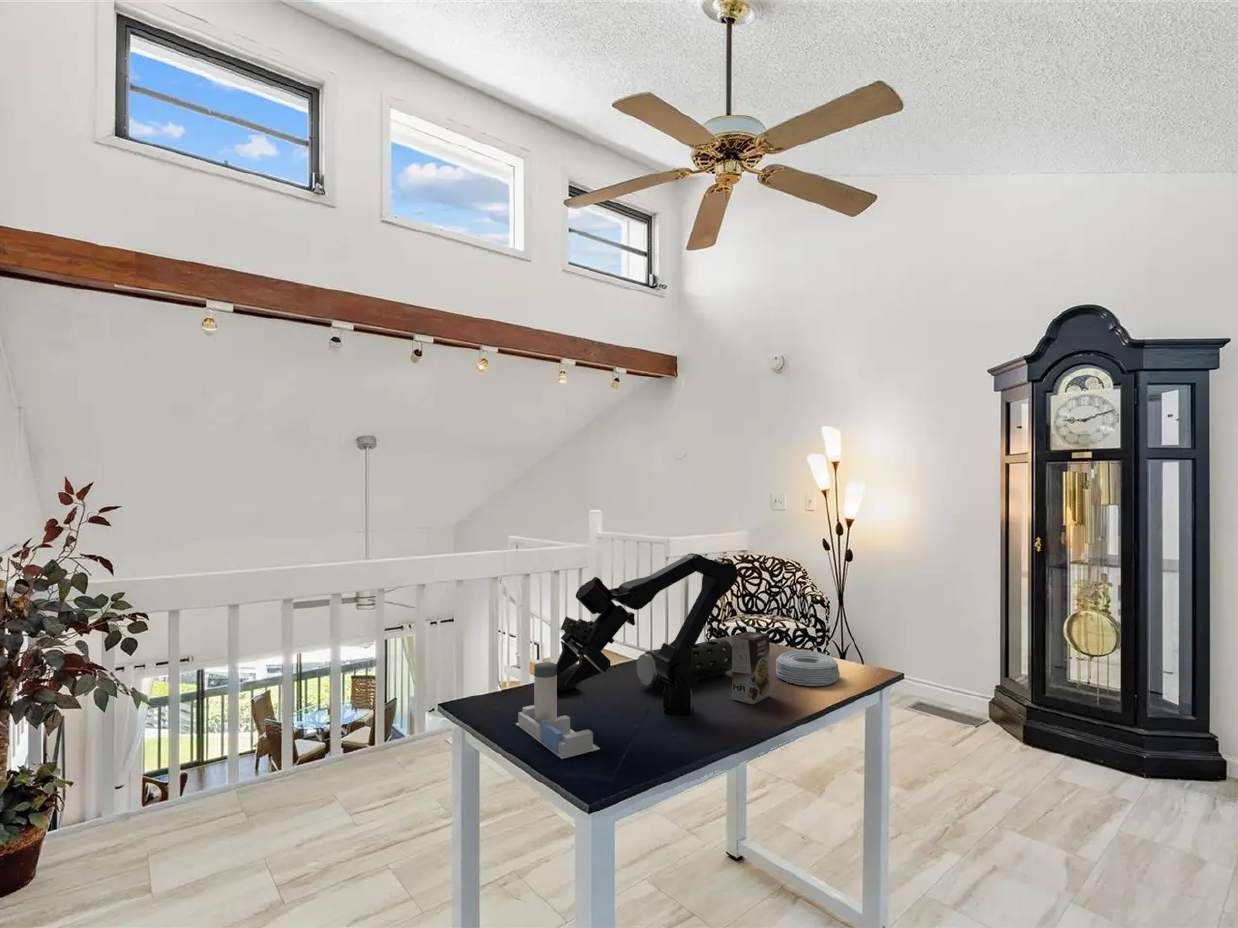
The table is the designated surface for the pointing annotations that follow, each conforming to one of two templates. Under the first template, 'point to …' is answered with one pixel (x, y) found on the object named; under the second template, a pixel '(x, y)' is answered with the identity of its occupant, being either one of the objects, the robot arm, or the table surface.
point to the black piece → (565, 679)
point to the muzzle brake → (699, 659)
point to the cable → (807, 668)
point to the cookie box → (750, 667)
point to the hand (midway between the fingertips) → (560, 680)
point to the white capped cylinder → (545, 691)
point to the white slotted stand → (556, 734)
